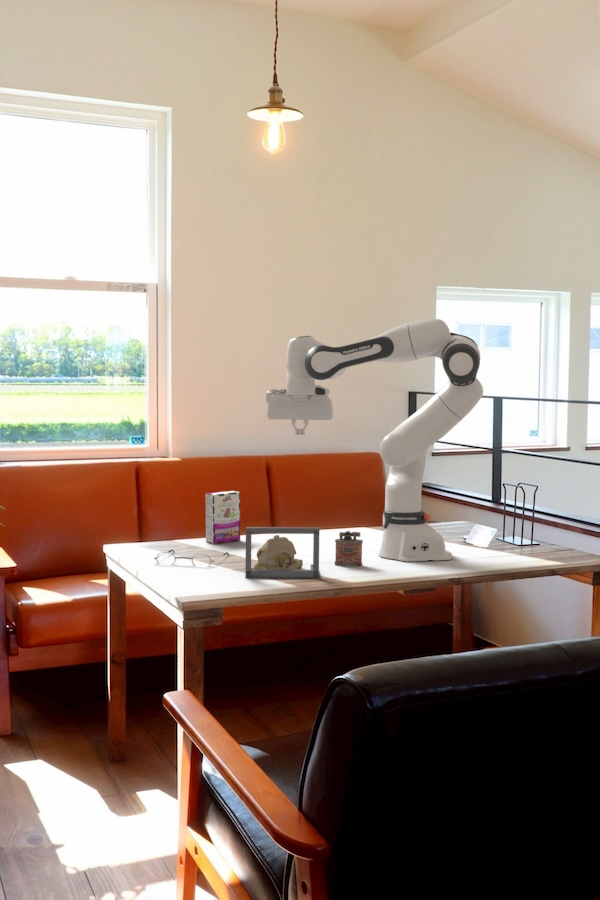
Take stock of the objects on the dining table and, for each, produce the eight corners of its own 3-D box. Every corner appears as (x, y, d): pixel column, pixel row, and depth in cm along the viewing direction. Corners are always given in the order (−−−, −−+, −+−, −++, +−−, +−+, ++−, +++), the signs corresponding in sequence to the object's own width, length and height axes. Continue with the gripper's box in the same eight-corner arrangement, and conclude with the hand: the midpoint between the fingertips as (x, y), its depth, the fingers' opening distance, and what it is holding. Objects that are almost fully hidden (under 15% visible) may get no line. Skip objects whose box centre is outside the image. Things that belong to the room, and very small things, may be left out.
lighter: (334, 565, 271) (334, 531, 270) (335, 563, 274) (335, 529, 273) (361, 566, 270) (362, 532, 269) (362, 564, 273) (363, 530, 272)
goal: (316, 569, 265) (316, 522, 264) (318, 578, 254) (319, 528, 253) (245, 569, 264) (246, 521, 262) (245, 577, 253) (245, 527, 252)
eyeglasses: (153, 565, 270) (153, 552, 270) (173, 555, 288) (173, 542, 288) (213, 568, 267) (213, 554, 266) (229, 557, 285) (230, 545, 285)
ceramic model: (267, 576, 256) (267, 540, 255) (245, 569, 265) (245, 534, 264) (308, 570, 264) (308, 535, 263) (285, 563, 273) (286, 530, 272)
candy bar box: (231, 538, 313) (232, 490, 312) (240, 540, 310) (241, 491, 308) (204, 542, 306) (204, 492, 305) (213, 544, 302) (213, 494, 301)
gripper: (266, 389, 279) (265, 434, 280) (334, 390, 280) (333, 435, 281) (266, 388, 286) (265, 433, 287) (332, 389, 287) (331, 434, 288)
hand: (299, 434), depth 284 cm, fingers closed
